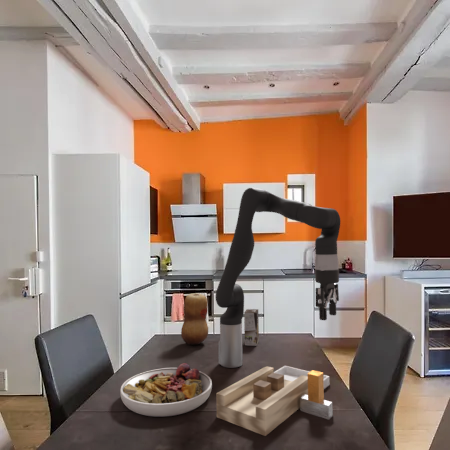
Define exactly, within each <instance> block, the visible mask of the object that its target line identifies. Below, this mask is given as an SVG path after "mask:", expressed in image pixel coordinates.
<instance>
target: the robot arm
mask: <svg viewBox="0 0 450 450" xmlns="http://www.w3.org/2000/svg"><path fill="white" fill-rule="evenodd" d="M238 210H239V211H238V215H237V216H238V217H237V220H236V221H237V222H236V225H235V229H234V235H233V238H232V240H231V245H230V248H229V252H228V256H227V260H226V263H225V266H224V269H223V273H222V276H221V278H220V280H219V283H218V286H217V288H216V292H215V301H216V305H217V306H218V307H220V308H222V309H225V308H226V310H225V311H224V312H223V313H222V314H221V315H220V317H219V339H220V340H218V345H217V346H218V349H217V350H218V351H217V353H218V364H219V365H221V367H224V368H231V369H232V368H234V369H235V368H238V367H241V366H242V365H243V318H244V312H245V310H244V309H245V293H244V290H243V289H244V288H243V287H241V285H240V284H237V280H238V278H239V276H240V275H241V274H242V273H243V271H244V270H245V269H246V267H247V266H248V264H249V263H250V261H251V259H252V255H253V252H254V247H255V238H254V237H255V236H254V234H253V228H252V227H253V220H254V217H255V213H265V212H266V213H274V214H275V213H276V214H279V215H281V216H283V217H284V218H287V219H289V220H292V221H296V222H298V223H304V224H305V225H307V226H309V227H312V228H314V229H318V230H321V231H320V235H319V236H317V238H316V239H315V242H314V245H315V246H314V248H315V249H314V250H315V251H314V252H315V258H314V276H315V277H314V278H315V279H314V281H315V283H318V284H319V287H315V308H318V312H319V314H318V315H319V316H318V317H319V321H327V319H328V313H329V315H330V316H336V315H337V303H338V302H339V300H340V299H339V298H340V296H339V284H338V283H339V281H340V274H339V271H340V270H339V269H340V266H339V257H338V238H339V233H340V228H341V217H340V214H339V212H338V211H337V210H336V209H335V208H330V207H329V208H328V207H320V206H315V205H312V204H311V203H307V202H304V201H300V200H297V199H296V200H295V199H290V198H284V197H281V196H279V195H276V194H274V193H272V192H270V191H268V190H265V189H263V188H257V187H248V188H247V189H245V190H244V192H243V193H242V195H241V199H240V203H239V209H238ZM327 307H328V309H327ZM328 310H329V311H328ZM327 311H328V312H327Z"/></svg>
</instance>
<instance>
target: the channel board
mask: <svg viewBox="0 0 450 450" xmlns="http://www.w3.org/2000/svg"><path fill="white" fill-rule="evenodd" d="M273 372H275V370H274V367H271V366H264V367H262V368H261V369H259V370H257V371H255V372H253V373H251V374H250V375H247V376H245V377H244V378H242V379H240V380H238V381H236V382H235V383H233V384H231V385H229V386H227V387H225V388H224V389H222V390H220V391H218V392H216V395H215V396H216V399H215V400H216V418H218V419H221V420H223V421H226V422H228V423H231V424H233V425H236V426H239V427H241V428H243V429H246V430H248V431H251V432H254V433H256V434H259V435H262V436H263V437H266V436H268V435H269V434H270V433H271V432H272V431H273V430H275V429H276V428H278V426H280V425H281V424H282V423H283V422H284V421H286V420H287V419H288V418H289V417H291V415H293V414H294V413H296V412H297V410H299V409H300V397H302V396H303V395H304V394H306V395H308V376H304V375H301V376H300V377H298V378H297V379H295V380H294V381H289V380H285V379H284V388H282V389H281V390H279V391H278V392H277V391H274V390H271V396H270V397H269V398H267V399H266V400H265V401H263V400H260V399H257V398H254V397H253V384H254V383H256V382H258V381H260V380H262V381H266V382H267V376H268V375H270V374H272V373H273Z"/></svg>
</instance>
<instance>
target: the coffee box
mask: <svg viewBox="0 0 450 450" xmlns="http://www.w3.org/2000/svg"><path fill="white" fill-rule="evenodd" d="M243 318H244V325H243V327H244V329H243V331H244V346H253V347H255V346H256V347H257V346H258V344H259V342H260V329H259V309H255V308H253V309H251V308H250V309H249V308H248V309H246V310H244V314H243Z"/></svg>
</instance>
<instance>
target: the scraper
mask: <svg viewBox="0 0 450 450" xmlns="http://www.w3.org/2000/svg"><path fill="white" fill-rule="evenodd" d="M309 371H310V372H309V373H308V395H306V394H304V395H303V396H302V397H300V408H299V409H300V412H304V413H306V414H309V415H313V416H315V417H319V418H321V419H325V420H330V419H331V418H332V417H333V416H334V415H333V412H334V411H333V401H329V400H326V399H325V397H324V396H325V395H324V393H325V392H324V391H325V389H324V381H323V375H324V372H321V371H319V370H313V369H312V370H309Z"/></svg>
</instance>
